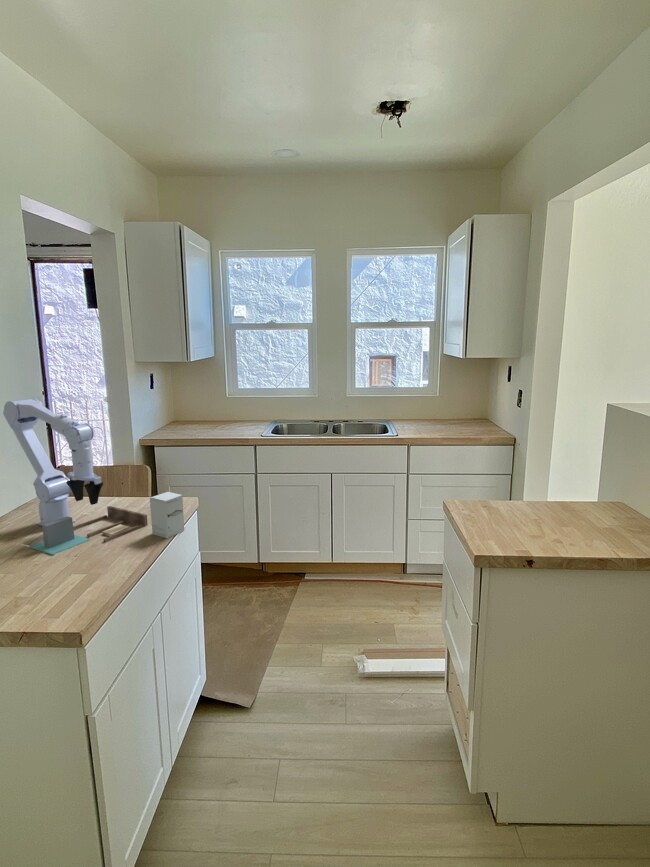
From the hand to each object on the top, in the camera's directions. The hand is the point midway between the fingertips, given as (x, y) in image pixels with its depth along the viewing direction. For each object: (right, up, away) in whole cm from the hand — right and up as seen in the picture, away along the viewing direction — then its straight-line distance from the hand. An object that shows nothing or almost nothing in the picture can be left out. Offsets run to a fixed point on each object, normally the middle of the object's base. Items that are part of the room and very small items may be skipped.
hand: (86, 502), depth 158 cm
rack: (+6, -9, +1) cm, 11 cm away
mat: (-3, -12, -10) cm, 16 cm away
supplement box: (+28, -10, -2) cm, 29 cm away
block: (-3, -11, -10) cm, 15 cm away
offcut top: (+10, -10, -1) cm, 14 cm away
